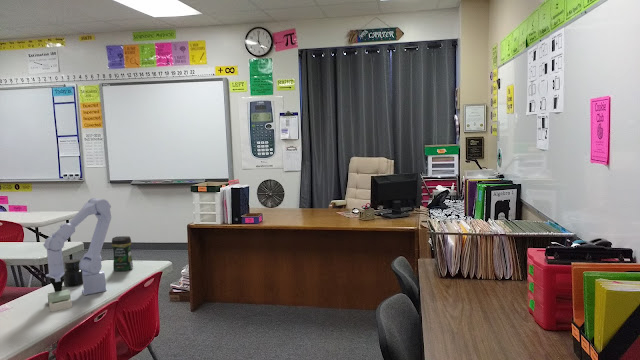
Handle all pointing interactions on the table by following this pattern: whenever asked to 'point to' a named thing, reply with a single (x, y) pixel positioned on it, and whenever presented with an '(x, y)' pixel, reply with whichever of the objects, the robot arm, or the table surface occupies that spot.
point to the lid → (59, 296)
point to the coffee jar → (122, 253)
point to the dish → (60, 305)
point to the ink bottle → (72, 273)
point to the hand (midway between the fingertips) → (58, 293)
